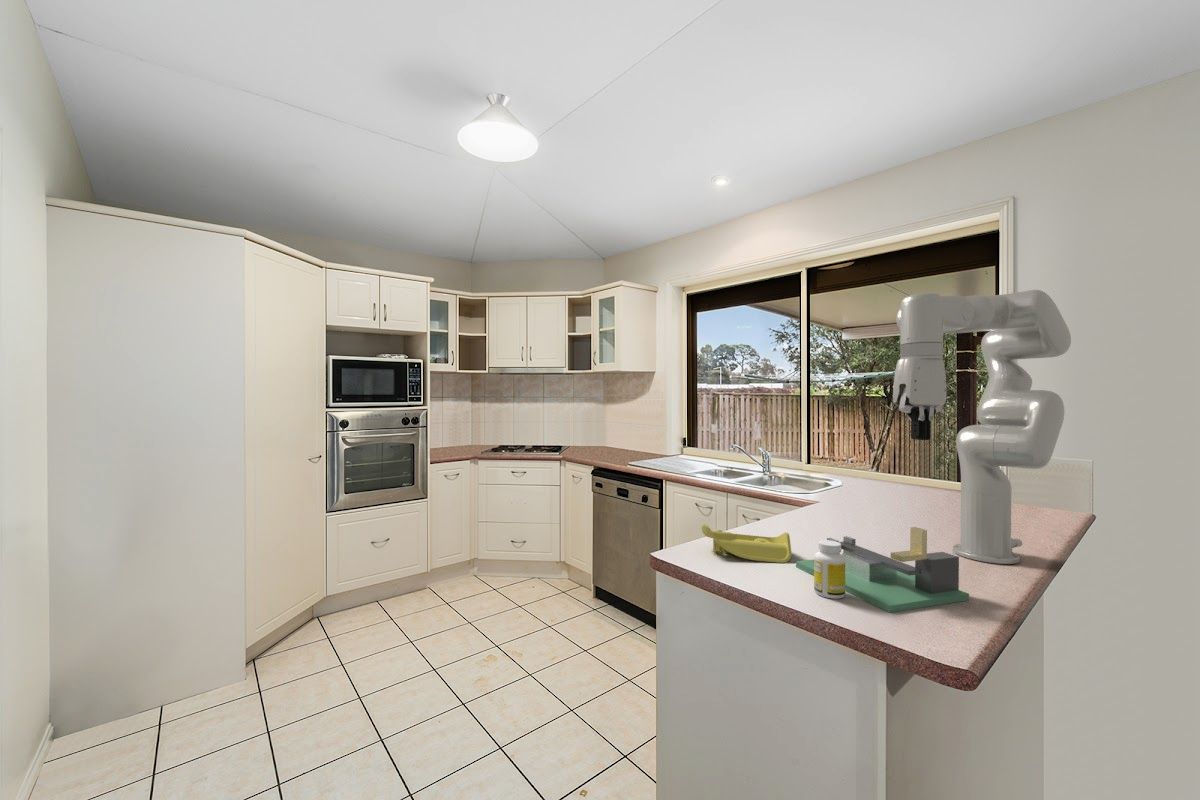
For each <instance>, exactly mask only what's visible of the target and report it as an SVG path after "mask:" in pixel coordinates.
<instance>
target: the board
mask: <svg viewBox="0 0 1200 800" xmlns="http://www.w3.org/2000/svg"><path fill="white" fill-rule="evenodd" d="M842 538H843V541H847V542H849V543H851V544H854V545H856V542H857V541H856V538H854V537H851V536H847V535H845V536H843V537H842ZM826 540H830V541H836V542H840V541H839V539H835V538H832V537H826ZM843 541H842V542H843ZM842 551H843V552H842V553H848V552H849V551H846V550H843V549H842ZM795 567H796V568H797V569H799V570H802V571H804V572H805V573H808V574H810V575H812V576H814V559H808V560H807V559H806V560H799V561H796V562H795ZM845 593H849V594H851V595H853V596H855V597H857V598H859V599H861V600H863V601H866V602H867V603H869V604H871V605H873V606H875V607H877V608H880V609H882V610H884V611H886V612H888V613H895V612H901V611H908V610H916V609H919V608H921V609H922V608H928V607H935V606H940V605H946V604H947V605H948V604H954V603H959V602H960V603H961V602H965V601H966V602H967V601H969V600H970V593H967V592H965V591H962V590H960V589H959V590H955V591H948V592H941V593H934V594H930V593H927V592H925V591H922V590H920V589H918V588H915V575H906V574H904V573H901V572H899V571H897V578H893V579H885V580H877V581H867V580H865V579H863V578H860V577H858V576H856V575H853V574H851V573H849V572H847V571H845Z"/></svg>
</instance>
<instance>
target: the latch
mask: <svg viewBox="0 0 1200 800" xmlns="http://www.w3.org/2000/svg"><path fill="white" fill-rule="evenodd" d="M909 528H910V530H909V531H910V533H909V534H910V535H909V536H910V539H909V540H910V541H909V543H910V545H909V550H903V551H894V552H890V558H891V559H894V560H897V561H899V562H902V563H906V562H913V561H914V562H915V560H924V559H927V553H928V530H927V529H923V528H920V527H917V526H912V527H909Z"/></svg>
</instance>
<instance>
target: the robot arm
mask: <svg viewBox="0 0 1200 800" xmlns="http://www.w3.org/2000/svg"><path fill="white" fill-rule="evenodd" d="M895 319H896V320H895V321H896V325H897V327H898V330H899V331H900V332H899V333H900V335H899V337H900V338H899V339H900V346H899V348H900V349H899V350H900V352H899V353H900V354H899V355H900V357H899V359H897V362H896V366H895V370H894V378H893V386H892V389H893V390H892V403H893V404H894V405H896V406H898V411H900V412H902V413H906V415H907V416H908V420H909V421H910V439H911V440H917V441H919V440H920V441H930V440H931V438H932V437H931V436H932V435H931V434H932V433H931V432H932V431H931V428H932V427H931V426H932V421H934V416H935V414H937V413H940V412H942V411H943V406H944V405H945V404H946V401H947V376H946V368H945V363H944V362H945V361H944V359H943V356H944V354H943V353H944V334H964V333H966V334H967V333H974V332H975V333H977V332H979V333H980V332H986V333H985V334H984V335H983V336H982V339H981V342H980V346H981V347H980V348H981V353H982V357H983V359H984V364H985V365H986V366H985V367H986V370H987V373H988V379H987V380H988V381H987V383H986V386H985V388H984V391H983V393H982V396H981V399H980V400H979V404H978V406H977V409H976V419H977V420H978V422H979V423H980V424H972V425H968V426H965V427H963V428H961V429H960V430H959V431H958V433H957V435H956V438H955V439H956V440H955V445H956V450H957V455H958V460H959V468H960V543H956V544H953V545H952V551H953V553H955V554H956V555H957V556H961V557H964V558H966V559H970V560H975V561H978V562H984V563H989V564H990V563H991V564H999V565H1013V564H1018V563H1020V561H1021V559H1020V556H1019V554H1017V553H1015V552H1013V549H1014V548H1018V547H1022V546H1023V541H1022V540H1021V539H1019V538H1012V484H1011V482H1010V478H1008V476H1007V475H1006V473H1005V472H1004V471H1003V470H1002V468H1001V467H1008V468H1017V469H1030V470H1037V469H1041V468H1045V466H1047V465H1048V464H1049V462H1050V461H1051V459H1052V456H1053V453H1054V451H1055V449H1056V448H1055V447H1056V444H1057V442H1058V439H1059V435H1060V432H1061V431H1062V426H1063V423H1064V419H1065V404H1064V401H1063V399H1062V397H1061V396H1060V395H1059V394H1058V393H1056V392H1054V391H1051V390H1047V389H1046V390H1045V389H1032V385H1033V379H1032V377H1031V375H1030V374H1029V373H1028V372H1027V371H1026V370H1025V369H1024V368H1023V367H1022V366H1020V365H1019V364H1017V363H1016V362H1015V361H1014V360H1031V359H1045V358H1057V357H1059V356H1062V355H1064V354H1065V353H1067V352H1068V350H1069V349H1070V348H1071V343H1072V337H1071V331H1070V329H1069V327H1068V325H1067V322H1066V321H1065V319H1064V317H1063V316H1062V314H1061V311H1060V309H1059V308H1058V306H1057V304H1056V303H1055V301H1054V300H1053V299H1052V298H1051V296H1050V295H1049V294H1047V292H1045V291H1043V290H1040V289H1031V290H1030V289H1029V290H1024V291H1019V292H1012V293H1003V294H996V295H993V294H992V295H986V294H985V295H982V294H981V295H980V294H976V295H967V296H962V295H940V294H939V293H933V292H923V293H922V292H921V293H914V294H910V295H907V296H905V297H903V299H902V300H901V303H900V308H899V310H898V311H897V314H896V318H895Z"/></svg>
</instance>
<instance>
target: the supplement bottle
mask: <svg viewBox="0 0 1200 800" xmlns="http://www.w3.org/2000/svg"><path fill="white" fill-rule="evenodd" d="M817 542H818V546H817V548H818V550H819V551H817V552H816V553H814V556H813V558H814V559H813V560H814V575H813V576H814V577H813V579H814V580H813V581H814V582H813V585H814V586H813V589H814V592H815V594H817V595H818V596H821V597H823V598H827V599H834V600H836V599H837V600H838V599H839V600H840V599H842V598H844V597H845V596H846V591H845V558H844V556H842V549H841V543H839V542H840V541H839V542H836V541H830V540H827V539H822V540H819V541H817Z"/></svg>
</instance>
